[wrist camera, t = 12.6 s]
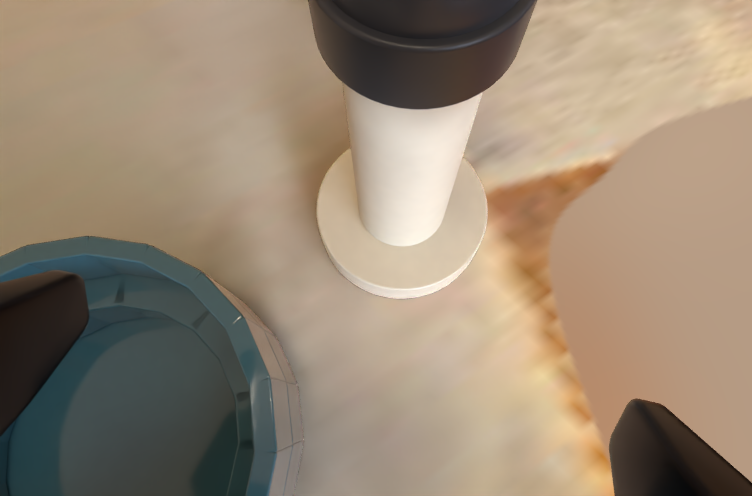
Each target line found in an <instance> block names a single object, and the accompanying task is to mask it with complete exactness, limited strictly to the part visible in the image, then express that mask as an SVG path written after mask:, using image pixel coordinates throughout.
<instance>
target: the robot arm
mask: <svg viewBox="0 0 752 496" xmlns="http://www.w3.org/2000/svg"><path fill="white" fill-rule="evenodd" d="M88 322H89V308H88V301H87V295H86V288H85V283H84V280H83V278H82V277H81V276H80V275H78V274H75V273H70V272H66V271H61V270H51V271H47V272H43V273H39V274H34V275H30V276H26V277H22V278H18V279H14V280H9V281H5V282H1V283H0V437H1V436H2V435H3V433H4V432H5V431H6V430H7V429H8V428H9V427H10V426H11V425H12V423H13V422H14V421H15V420H16V419H17V418H18V417H19V416H20V414H21V413H22V412H23V411H24V410H25V409H26V407H27V406H28V405H29V404H30V403H31V401H32V400H33V399H34V397H35V396H36V395H37V394H38V392H39V391H40V390H41V388H42V387H43V386H44V384H45V383H46V382H47V380H48V379H49V378H50V376H51V375H52V374H53V372H54V371H55V370H56V368H57V367H58V365H59V364H60V363H61V361H62V360H63V359H64V357H65V356H66V355H67V353H68V352H69V351H70V349H71V348H72V347H73V345H74V344H75V343H76V341H77V340H78V339H79V337H80V336H81V335H82V333H83V332H84V330H85V329H86V327H87V325H88ZM609 453H610V461H611V469H612V477H613V485H614V493H615V496H752V483H751V482H750V481H749V480H748V479H747V478H746V477H745V476H743V475H742V474H741V473H740V472H739V471H738V470H736V469H735V468H734V467H733V466H732V465H731V464H730V463H728V462H727V461H726V460H725V459H724V458H723V457H722V456H720V455H719V454H718V453H717V452H716V451H715V450H714V449H713V448H711V447H710V446H709V445H708V444H707V443H706V442H705V441H704V440H702V439H701V438H700V437H699V436H698V435H697V434H696V433H694V432H693V431H692V430H691V429H690V428H689V427H688V426H686V425H685V424H684V423H683V422H682V421H681V420H679V419H678V418H677V417H676V416H675V415H674V414H673V413H672V412H670V411H669V410H668V409H667V408H666V407H665V406H663V405H661V404H659V403H655V402H650V401H646V400H641V399H633V400H631V401H630V402H629V403H628V404H627V406H626V408H625V410H624V412H623V414H622V416H621V418H620V420H619V421H618V423H617V425H616V427H615V429H614V431H613V433H612V435H611V439H610V444H609Z"/></svg>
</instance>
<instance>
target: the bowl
mask: <svg viewBox="0 0 752 496" xmlns="http://www.w3.org/2000/svg"><path fill="white" fill-rule="evenodd" d="M51 270H61V271H66V272H70V273H75V274H78V275H80V276H81V277H82V278H83V280H84V283H85V288H86V295H87V301H88V308H89V322H88V325H87V327H86V329H85V330H84V332H83V333H82V335H81V336H80V337H79V339H78V340H77V341H76V343H75V344H74V345H73V347H72V348H71V349H70V351H69V352H68V353H67V355H66V356H65V357H64V359H63V360H62V361H61V363H60V364H59V365H58V367H57V368H56V370H55V371H54V372H53V374H52V375H51V376H50V378H49V379H48V380H47V382H46V383H45V384H44V386H43V387H42V388H41V390H40V391H39V392H38V394H37V395H36V396H35V397H34V399H33V400H32V401H31V403H30V404H29V405H28V406H27V407H26V409H25V410H24V411H23V412H22V413H21V414H20V416H19V417H18V418H17V419H16V420H15V421H14V422H13V423H12V425H11V426H10V427H9V428H8V429H7V430H6V431H5V432H4V433H3V435H2V436H1V437H0V496H294V493H295V488H296V482H297V477H298V472H299V466H300V461H301V456H302V450H303V445H304V440H303V439H304V434H303V425H302V415H301V406H300V397H299V388H298V385H297V381H296V378H295V376H294V374H293V372H292V369H291V367H290V365H289V363H288V361H287V358H286V356H285V354H284V352H283V349H282V347H281V345H280V343H279V340H278V339H277V338H276V336H275V335H274V333H273V332H272V331H271V330H270V329H269V328H268V327H267V326H266V325H265V324H264V323H263V322H262V321H261V320H260V319H259V317H258V316H257V315H256V314H255V313H254V312H253V311H252V310H251V309H250V308H249V307H248V306H247V305H246V304H245V303H244V302H243V301H241V300H240V299H239V298H237V297H236V296H235V295H233V294H232V293H231V292H229V291H228V290H227V289H225V288H224V287H223V286H221V285H220V284H218V283H217V282H216V281H214V280H213V279H212V278H210V277H209V276H208V275H206V274H205V273H203V272H202V271H201V270H199V269H197V268H195V267H193V266H191V265H189V264H187V263H185V262H183V261H181V260H179V259H177V258H175V257H174V256H172V255H170V254H168V253H166V252H164V251H162V250H160V249H158V248H156V247H154V246H152V245H148V244H144V243H137V242H130V241H123V240H116V239H109V238H102V237H95V236H83V237H76V238H70V239H63V240H57V241H51V242H44V243H38V244H31V245H26V246H23V247H21V248H19V249H16V250H14V251H12V252H10V253H8V254H5V255H3V256H1V257H0V283H1V282H5V281H9V280H14V279H18V278H22V277H26V276H30V275H34V274H39V273H43V272H47V271H51Z"/></svg>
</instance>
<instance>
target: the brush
mask: <svg viewBox="0 0 752 496" xmlns="http://www.w3.org/2000/svg"><path fill="white" fill-rule="evenodd" d="M308 2H309V7H310V13H311V18H312V23H313V29H314V34H315V38H316V42H317V46H318V49H319V51H320V53H321V55H322V57H323V59H324V61H325V62H326V64H327V65H328V67H329V68H330V69H331V71H332V72H333V73H334V74H335V75H336V76H337V77H338V78H339V79H340V80H341V81H342V85H343V93H344V100H345V108H346V115H347V123H348V131H349V138H350V146H351V147H350V148H349V149H347V150H346V151H345V152H344V153H343V154H342V155H340V156H339V157H338V159H337V160H336V161H335V162H334V163H333V164H332V166H331V167H330V169H329V170H328V171H327V173H326V175H325V177H324V179H323V181H322V183H321V186H320V189H319V192H318V197H317V204H316V216H317V224H318V229H319V233H320V236H321V238H322V241H323V244H324V246H325V249H326V251H327V254H328V256H329V257H330V259H331V261H332V263H333V264H334V265H335V267H336V268H337V269H338V271H339V272H340V273H341V274H342V275H343V276H344V277H345V278H346V279H348V280H349V281H350V282H352V283H353V284H354V285H356V286H358V287H359V288H361V289H363V290H365V291H367V292H370V293H372V294H375V295H379V296H382V297H387V298H395V299H408V298H416V297H421V296H424V295H428V294H431V293H433V292H436V291H438V290H440V289H442V288H443V287H445V286H447V285H448V284H450V283H451V282H452V281H454V280H455V279H456V278H457V277H458V276H459V275H460V274H461V273H462V272H463V271H464V270H465V268H466V267H467V266H468V264H469V263H470V261H471V260H472V258H473V256H474V255H475V253H476V251H477V249H478V248H479V246H480V244H481V242H482V239H483V236H484V234H485V229H486V225H487V215H488V209H487V200H486V195H485V191H484V188H483V185H482V183H481V180H480V179H479V177H478V175H477V173H476V171H475V170H474V169H473V167H472V166H471V164H470V163H469V162H468V161H467V160H466V159H465V158H464V157H463V154H464V151H465V148H466V144H467V141H468V138H469V135H470V132H471V128H472V125H473V122H474V119H475V116H476V113H477V109H478V106H479V103H480V100H481V97H482V93H483V91H485V90H486V89H487V88H489V87H490V86H492V85H493V84H494V83H495V82H496V81H497V80H498V79H500V78H501V77H502V76H503V74H504V73H505V72H506V71H507V69H508V68H509V67H510V65H511V64H512V62H513V60H514V59H515V57H516V55H517V52H518V50H519V47H520V45H521V42H522V39H523V37H524V34H525V31H526V29H527V26H528V23H529V21H530V18H531V15H532V13H533V10H534V8H535V5H536V2H537V0H308Z"/></svg>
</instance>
